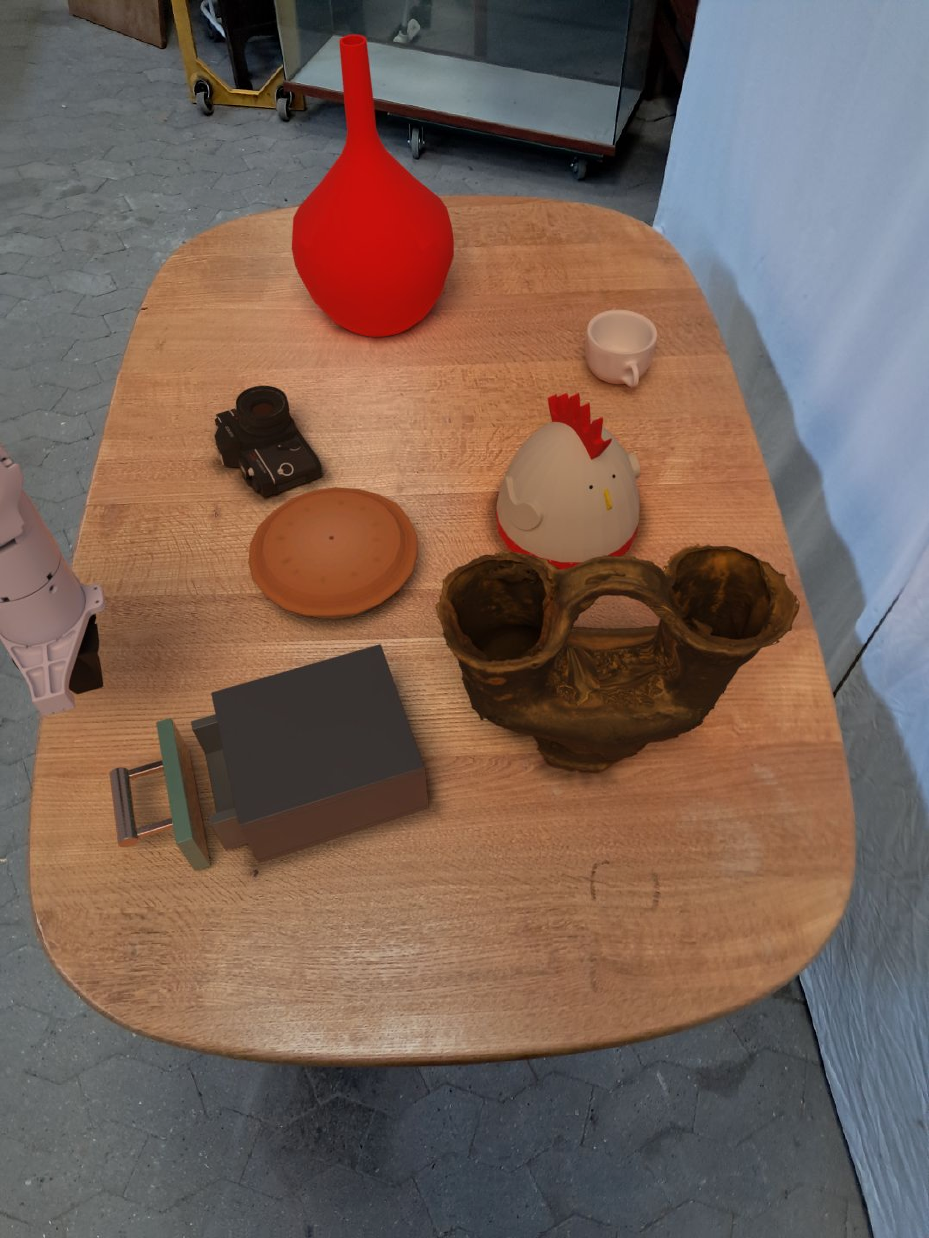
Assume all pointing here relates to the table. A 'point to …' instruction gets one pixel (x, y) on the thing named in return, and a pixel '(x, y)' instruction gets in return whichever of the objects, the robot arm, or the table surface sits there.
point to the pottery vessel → (608, 645)
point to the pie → (333, 552)
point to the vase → (371, 225)
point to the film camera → (265, 442)
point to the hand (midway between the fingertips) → (88, 683)
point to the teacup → (620, 346)
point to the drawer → (181, 794)
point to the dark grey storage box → (319, 753)
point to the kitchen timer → (570, 490)
